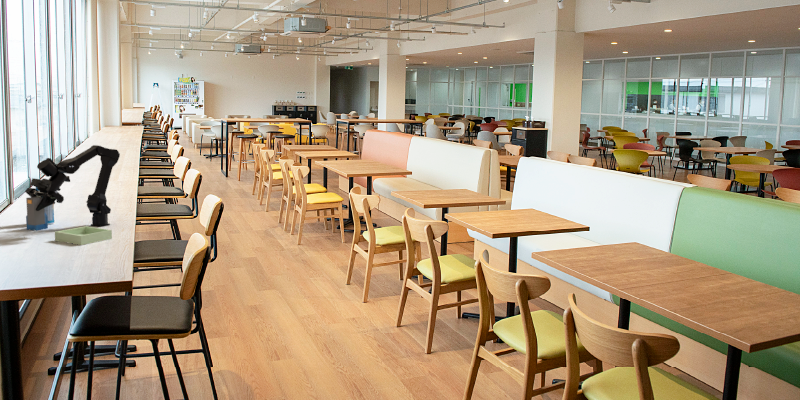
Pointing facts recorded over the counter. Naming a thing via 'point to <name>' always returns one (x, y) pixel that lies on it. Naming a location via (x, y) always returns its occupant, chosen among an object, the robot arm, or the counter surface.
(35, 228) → the perfume bottle
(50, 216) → the beverage bottle
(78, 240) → the pale green tray
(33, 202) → the grey square pillar
